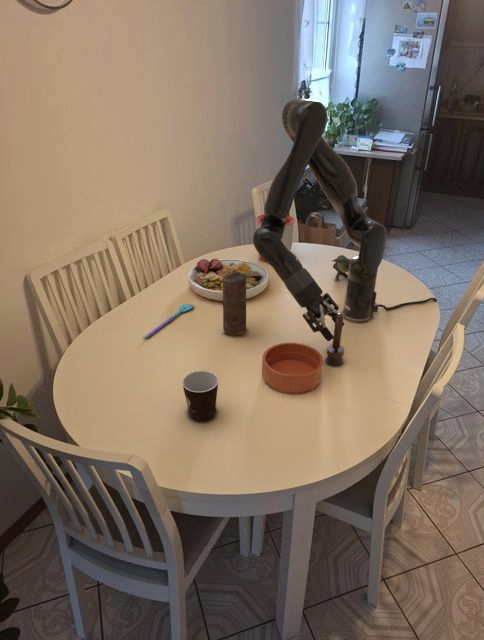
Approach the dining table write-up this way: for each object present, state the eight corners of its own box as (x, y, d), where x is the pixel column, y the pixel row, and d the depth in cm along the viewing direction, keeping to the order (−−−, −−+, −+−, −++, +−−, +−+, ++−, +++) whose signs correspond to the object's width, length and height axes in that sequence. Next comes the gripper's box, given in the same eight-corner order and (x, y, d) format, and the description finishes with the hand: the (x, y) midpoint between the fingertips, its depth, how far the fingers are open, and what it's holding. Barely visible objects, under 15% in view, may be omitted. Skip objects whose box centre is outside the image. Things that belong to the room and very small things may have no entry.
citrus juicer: (251, 265, 203) (252, 217, 192) (259, 249, 217) (259, 204, 206) (289, 268, 201) (292, 220, 190) (294, 252, 215) (296, 207, 204)
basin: (308, 356, 146) (309, 339, 143) (330, 388, 133) (333, 370, 130) (255, 364, 142) (255, 346, 139) (272, 399, 129) (273, 380, 125)
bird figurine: (341, 264, 203) (336, 232, 186) (363, 270, 199) (361, 237, 182) (328, 290, 198) (322, 259, 181) (351, 296, 194) (347, 265, 177)
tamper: (338, 356, 147) (344, 308, 138) (345, 365, 143) (352, 317, 134) (322, 358, 145) (328, 310, 137) (329, 367, 141) (335, 319, 133)
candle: (243, 339, 153) (243, 281, 142) (220, 336, 154) (218, 278, 144) (248, 327, 160) (249, 270, 149) (226, 324, 161) (225, 268, 150)
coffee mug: (185, 402, 126) (183, 371, 121) (219, 401, 127) (218, 370, 122) (183, 433, 117) (180, 401, 111) (219, 432, 117) (218, 399, 112)
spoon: (185, 304, 172) (185, 301, 171) (195, 306, 171) (195, 303, 170) (144, 338, 152) (144, 335, 152) (156, 341, 151) (155, 337, 150)
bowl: (283, 282, 189) (283, 263, 185) (238, 313, 168) (238, 292, 163) (220, 264, 202) (219, 246, 198) (171, 291, 181) (170, 271, 177)
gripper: (301, 290, 129) (337, 338, 131) (322, 271, 140) (355, 316, 141) (282, 303, 134) (317, 349, 136) (303, 284, 145) (336, 327, 146)
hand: (336, 332), depth 139 cm, fingers open, 8 cm apart
